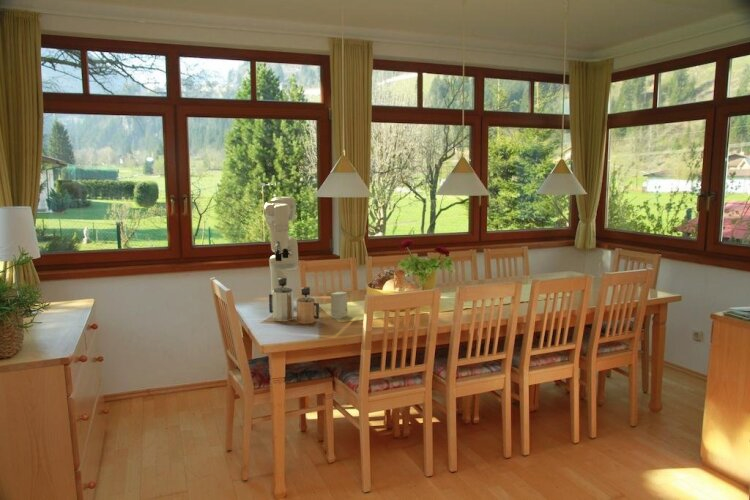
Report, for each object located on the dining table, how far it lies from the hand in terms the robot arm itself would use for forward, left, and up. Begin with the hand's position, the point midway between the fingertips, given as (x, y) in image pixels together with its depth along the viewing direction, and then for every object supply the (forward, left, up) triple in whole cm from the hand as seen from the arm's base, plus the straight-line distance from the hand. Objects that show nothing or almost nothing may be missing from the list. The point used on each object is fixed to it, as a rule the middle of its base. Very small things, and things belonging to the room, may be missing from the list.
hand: (282, 259), depth 308 cm
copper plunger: (+2, +14, -30) cm, 33 cm away
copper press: (+2, +15, -33) cm, 37 cm away
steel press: (0, -1, -33) cm, 33 cm away
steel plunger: (0, 0, -29) cm, 29 cm away
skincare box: (-13, +28, -35) cm, 46 cm away
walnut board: (+1, +6, -34) cm, 35 cm away
